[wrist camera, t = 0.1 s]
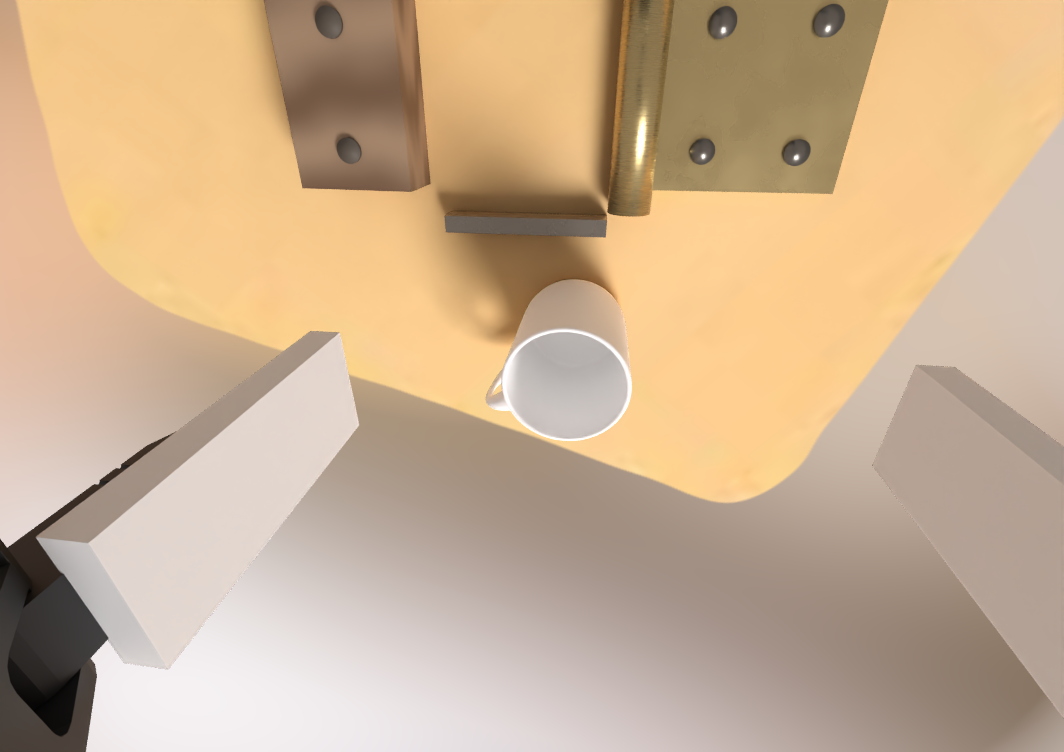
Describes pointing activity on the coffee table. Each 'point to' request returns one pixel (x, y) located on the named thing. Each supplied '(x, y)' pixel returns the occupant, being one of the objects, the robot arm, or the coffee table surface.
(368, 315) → the coffee table surface
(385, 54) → the walnut hinge leaf
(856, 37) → the brass hinge base
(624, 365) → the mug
